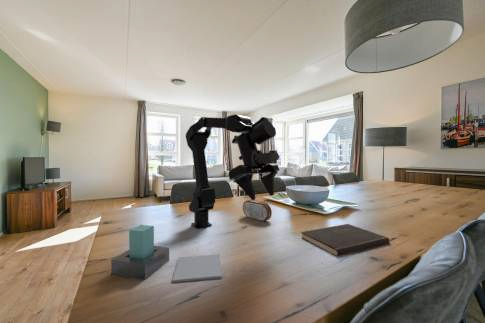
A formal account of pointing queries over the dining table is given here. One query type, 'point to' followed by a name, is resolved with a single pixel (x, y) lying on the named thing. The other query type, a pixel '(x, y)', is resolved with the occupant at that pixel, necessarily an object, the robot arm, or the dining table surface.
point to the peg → (141, 241)
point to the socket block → (139, 264)
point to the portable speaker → (257, 210)
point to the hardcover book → (344, 239)
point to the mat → (197, 268)
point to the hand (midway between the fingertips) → (263, 197)
